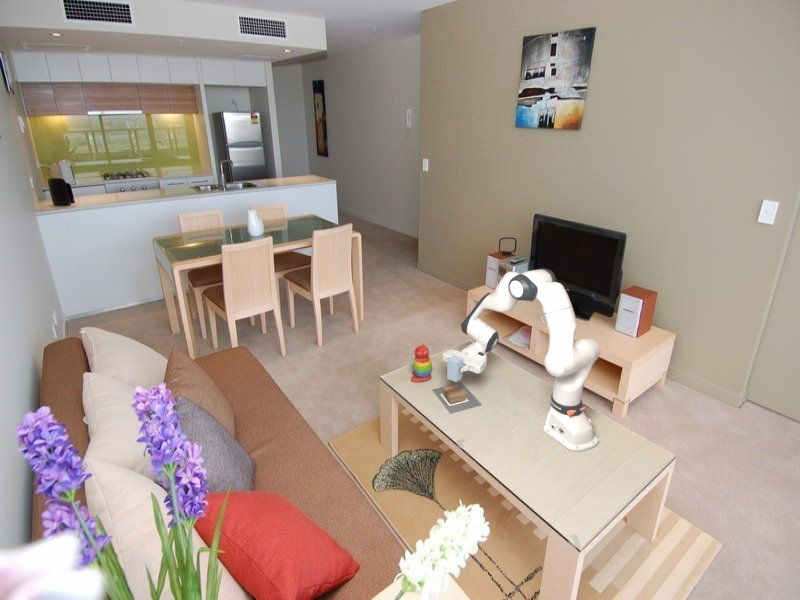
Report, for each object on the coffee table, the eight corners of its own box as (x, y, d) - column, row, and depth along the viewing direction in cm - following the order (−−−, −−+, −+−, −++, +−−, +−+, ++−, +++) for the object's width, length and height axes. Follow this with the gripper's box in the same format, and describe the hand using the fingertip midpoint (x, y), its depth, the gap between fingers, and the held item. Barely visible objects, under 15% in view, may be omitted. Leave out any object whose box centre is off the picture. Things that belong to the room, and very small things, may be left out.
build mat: (482, 405, 209) (482, 405, 208) (450, 414, 204) (450, 413, 203) (461, 382, 226) (461, 382, 226) (431, 390, 221) (431, 389, 221)
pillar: (462, 377, 210) (463, 358, 206) (456, 382, 207) (457, 363, 203) (453, 373, 213) (453, 355, 209) (447, 378, 210) (447, 359, 206)
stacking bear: (412, 371, 237) (412, 340, 230) (432, 372, 235) (432, 341, 228) (410, 382, 227) (409, 351, 220) (431, 384, 226) (431, 352, 218)
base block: (466, 400, 212) (466, 393, 210) (450, 404, 210) (450, 397, 208) (458, 391, 219) (458, 383, 217) (442, 394, 216) (442, 387, 215)
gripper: (451, 343, 222) (435, 355, 212) (489, 356, 210) (473, 369, 200) (451, 354, 224) (435, 367, 215) (488, 368, 212) (473, 382, 203)
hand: (454, 368), depth 207 cm, fingers closed on pillar, 5 cm apart
